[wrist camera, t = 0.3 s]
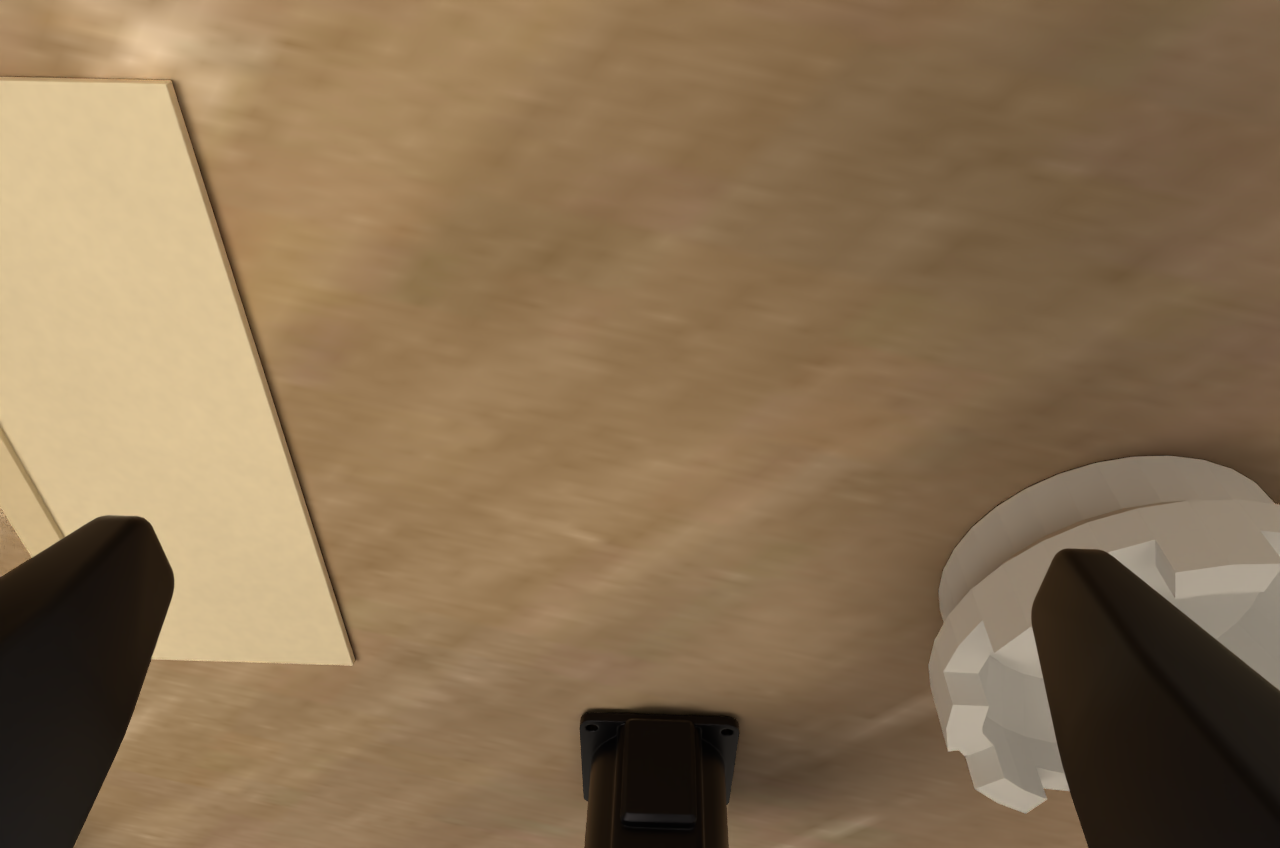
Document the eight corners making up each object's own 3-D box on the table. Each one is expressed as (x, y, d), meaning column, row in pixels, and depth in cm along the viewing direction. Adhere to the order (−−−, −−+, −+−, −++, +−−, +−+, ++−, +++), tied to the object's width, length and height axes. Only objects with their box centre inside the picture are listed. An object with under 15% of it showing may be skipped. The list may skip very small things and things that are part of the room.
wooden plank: (355, 659, 34) (351, 670, 33) (103, 651, 34) (96, 662, 33) (172, 79, 20) (161, 86, 20) (-250, 70, 20) (-268, 77, 20)
